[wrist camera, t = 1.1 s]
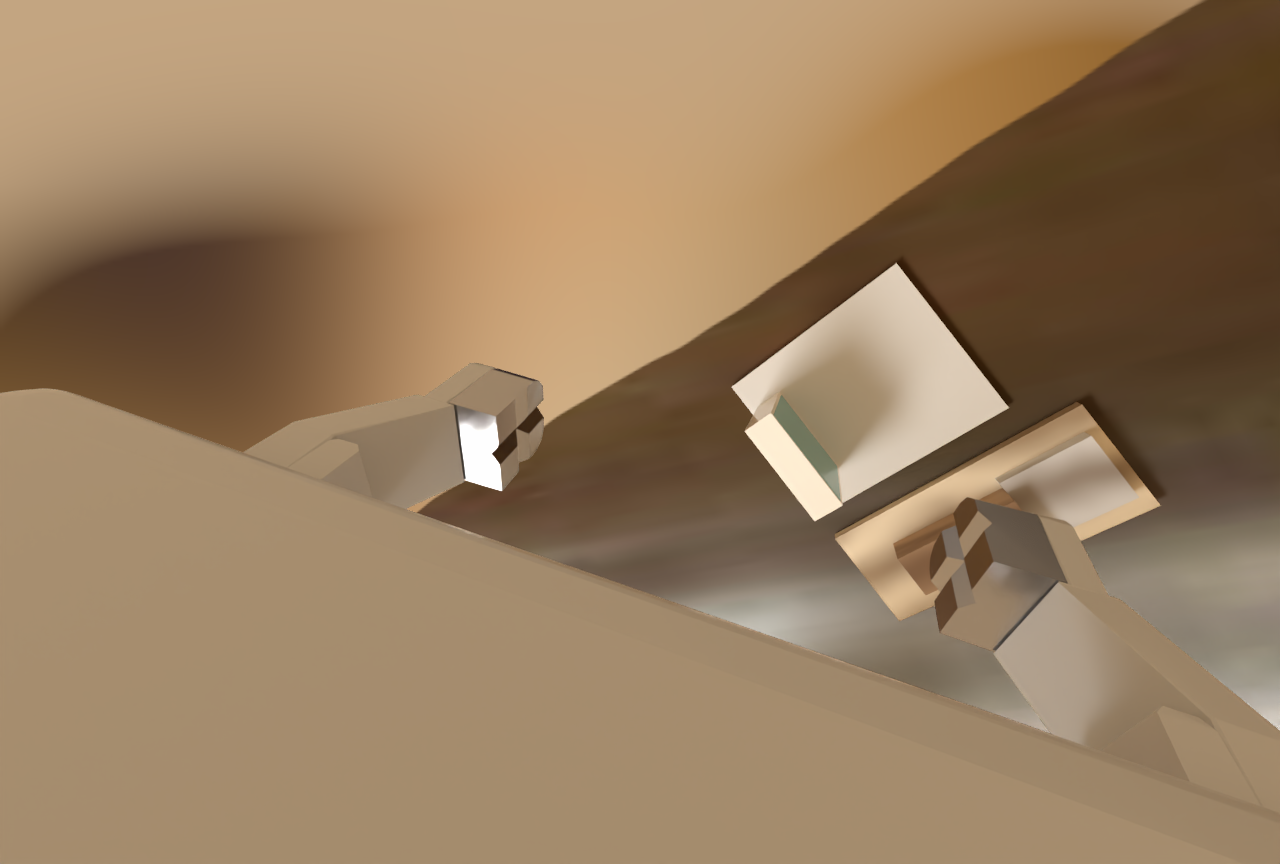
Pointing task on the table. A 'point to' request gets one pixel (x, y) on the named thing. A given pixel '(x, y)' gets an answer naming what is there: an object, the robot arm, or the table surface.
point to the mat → (877, 382)
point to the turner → (1036, 497)
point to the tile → (796, 456)
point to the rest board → (974, 480)
